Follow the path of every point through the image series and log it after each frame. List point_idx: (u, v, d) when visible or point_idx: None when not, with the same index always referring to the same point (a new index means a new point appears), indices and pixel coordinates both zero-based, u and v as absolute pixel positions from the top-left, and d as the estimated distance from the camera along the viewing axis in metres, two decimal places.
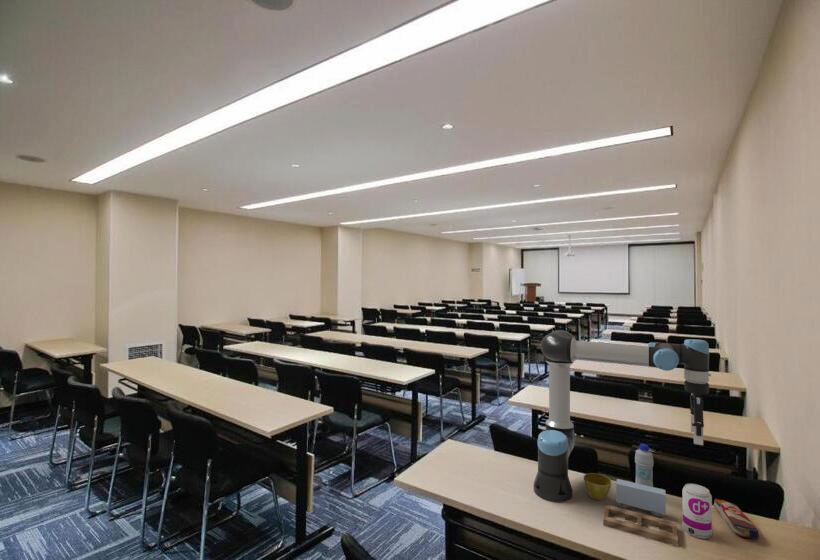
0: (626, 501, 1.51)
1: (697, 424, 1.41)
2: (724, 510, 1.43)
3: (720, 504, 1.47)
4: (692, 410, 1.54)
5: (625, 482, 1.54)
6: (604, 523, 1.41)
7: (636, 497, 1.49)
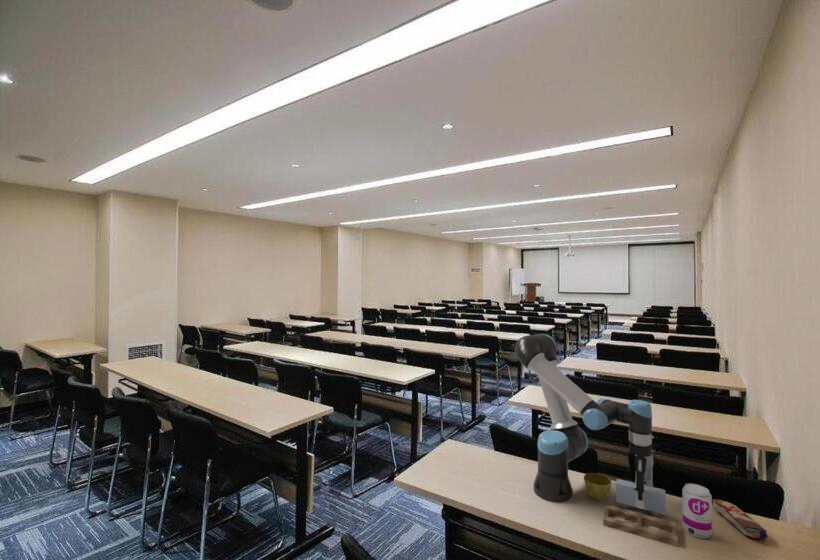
0: (626, 501, 1.51)
1: (638, 489, 1.46)
2: (728, 511, 1.43)
3: (721, 505, 1.46)
4: None
5: (625, 482, 1.54)
6: (604, 523, 1.41)
7: None
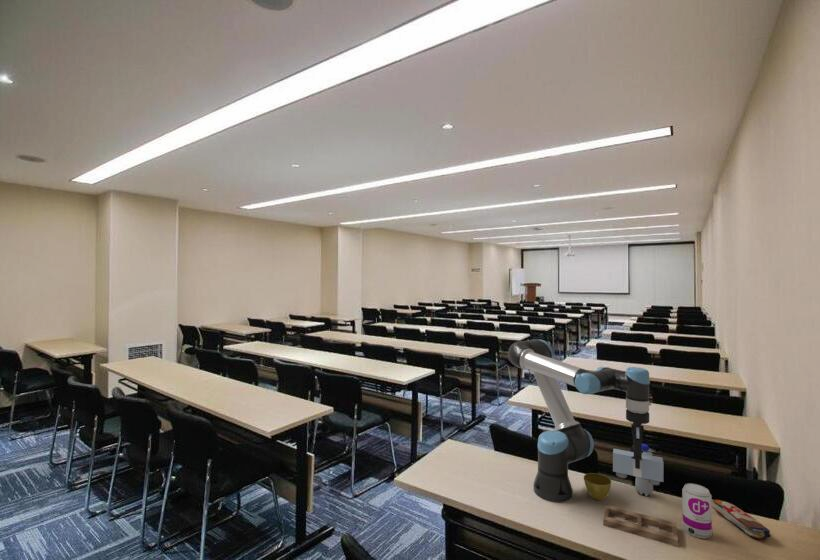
0: (623, 470, 1.47)
1: (635, 457, 1.42)
2: (730, 512, 1.42)
3: (721, 505, 1.46)
4: None
5: (622, 451, 1.50)
6: (604, 523, 1.41)
7: None
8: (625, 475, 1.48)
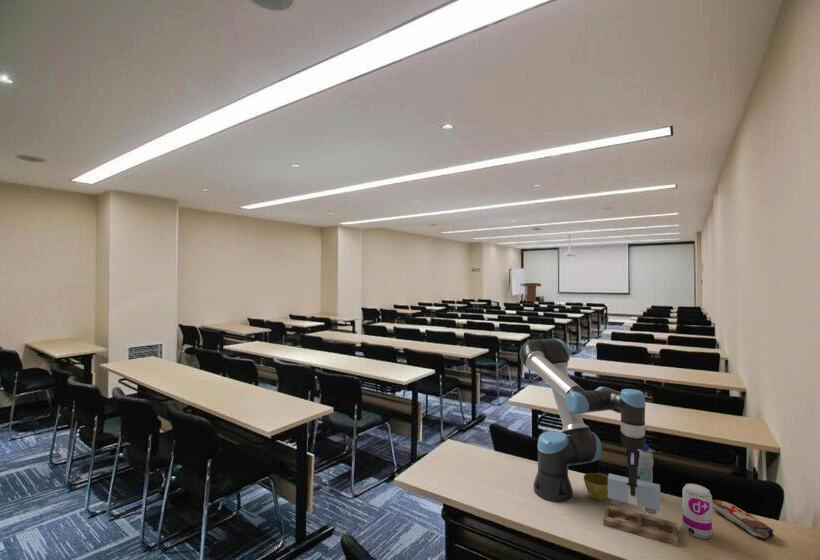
0: (618, 497, 1.41)
1: (630, 484, 1.36)
2: (732, 512, 1.42)
3: (722, 506, 1.46)
4: None
5: (617, 476, 1.44)
6: (604, 523, 1.41)
7: None
8: (621, 502, 1.42)
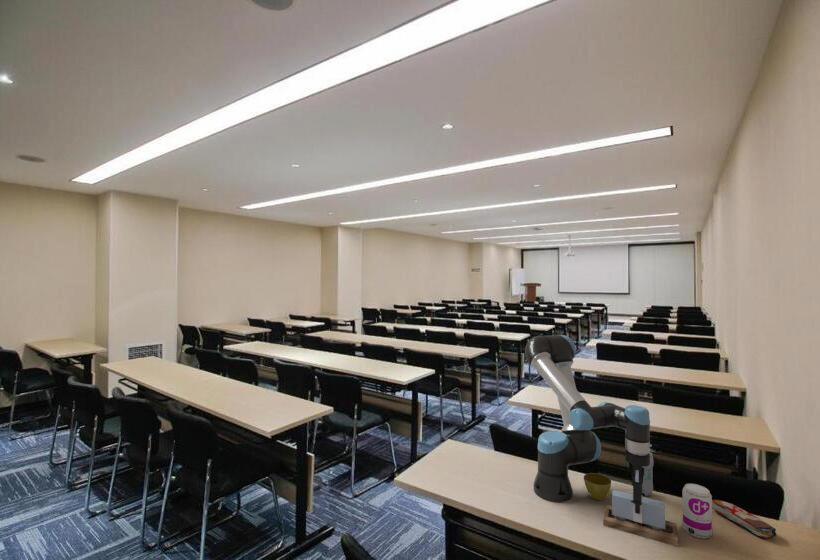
0: (623, 514, 1.41)
1: (635, 502, 1.36)
2: (734, 512, 1.42)
3: (723, 506, 1.46)
4: None
5: (622, 493, 1.44)
6: (604, 523, 1.41)
7: None
8: (625, 519, 1.41)
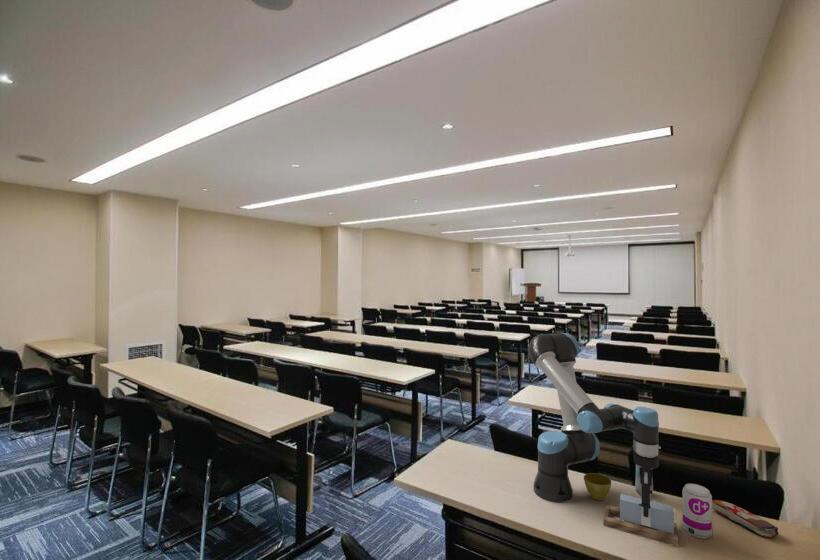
0: (631, 518, 1.39)
1: (643, 505, 1.33)
2: (735, 513, 1.42)
3: (725, 506, 1.45)
4: None
5: (629, 497, 1.42)
6: (604, 523, 1.41)
7: None
8: None
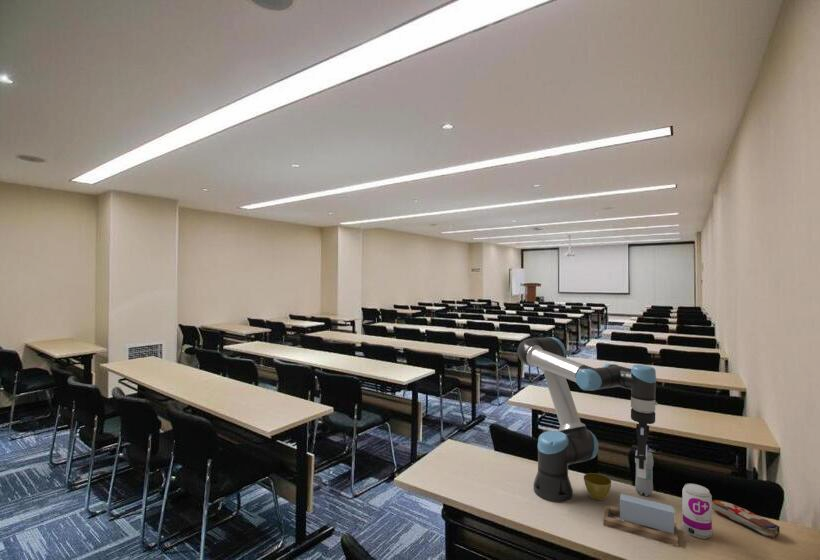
0: (631, 518, 1.39)
1: (639, 457, 1.33)
2: (737, 513, 1.42)
3: (725, 507, 1.45)
4: None
5: (629, 497, 1.42)
6: (604, 523, 1.41)
7: (641, 515, 1.38)
8: None
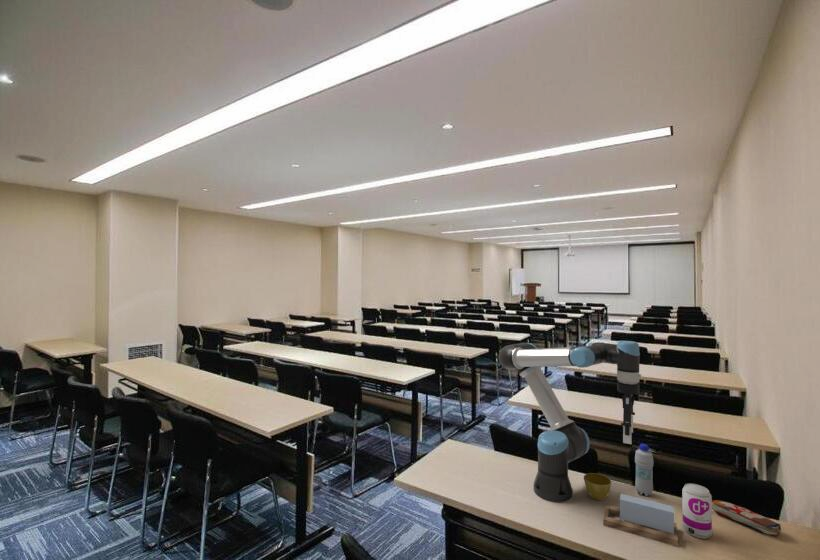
0: (631, 518, 1.39)
1: (625, 424, 1.44)
2: (739, 513, 1.42)
3: (726, 507, 1.45)
4: None
5: (629, 497, 1.42)
6: (604, 523, 1.41)
7: (641, 515, 1.38)
8: None
